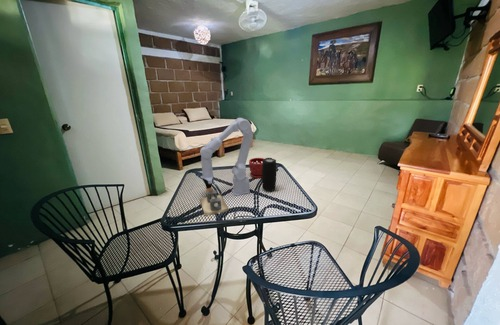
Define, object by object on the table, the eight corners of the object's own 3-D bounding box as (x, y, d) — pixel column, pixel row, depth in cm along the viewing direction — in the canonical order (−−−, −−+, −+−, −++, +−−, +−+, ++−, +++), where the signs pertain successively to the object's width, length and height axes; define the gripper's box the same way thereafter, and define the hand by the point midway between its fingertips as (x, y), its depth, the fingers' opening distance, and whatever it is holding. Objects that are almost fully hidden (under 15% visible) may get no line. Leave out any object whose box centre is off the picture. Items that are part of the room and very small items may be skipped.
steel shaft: (213, 192, 117) (212, 186, 115) (220, 208, 101) (220, 201, 99) (206, 194, 115) (205, 187, 114) (212, 209, 99) (212, 202, 98)
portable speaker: (262, 193, 121) (262, 162, 115) (261, 186, 130) (261, 157, 124) (276, 192, 121) (277, 161, 115) (274, 186, 130) (275, 157, 124)
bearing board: (221, 197, 117) (220, 186, 115) (228, 210, 103) (228, 199, 101) (200, 201, 113) (198, 190, 111) (205, 216, 99) (203, 204, 97)
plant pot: (245, 175, 148) (245, 160, 144) (258, 171, 156) (258, 156, 152) (258, 181, 138) (258, 164, 135) (271, 175, 147) (271, 160, 143)
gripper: (198, 165, 118) (200, 186, 122) (201, 173, 105) (204, 197, 109) (210, 163, 120) (211, 184, 124) (215, 171, 107) (217, 194, 111)
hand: (209, 190), depth 117 cm, fingers closed
